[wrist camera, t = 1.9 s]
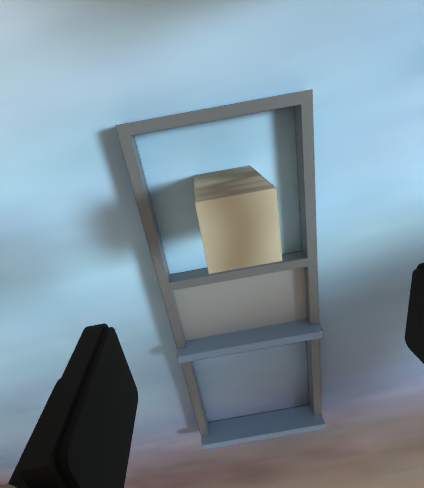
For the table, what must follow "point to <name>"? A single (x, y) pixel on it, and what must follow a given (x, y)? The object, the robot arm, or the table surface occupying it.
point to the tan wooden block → (237, 219)
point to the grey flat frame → (242, 285)
